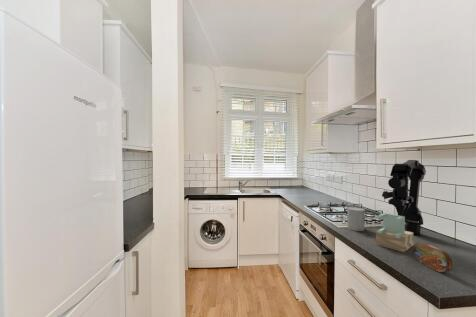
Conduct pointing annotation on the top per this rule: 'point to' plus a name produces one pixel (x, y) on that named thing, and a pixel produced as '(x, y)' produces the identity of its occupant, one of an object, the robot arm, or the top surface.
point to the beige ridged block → (395, 240)
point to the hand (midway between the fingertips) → (401, 216)
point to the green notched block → (393, 224)
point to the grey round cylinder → (356, 218)
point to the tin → (432, 257)
